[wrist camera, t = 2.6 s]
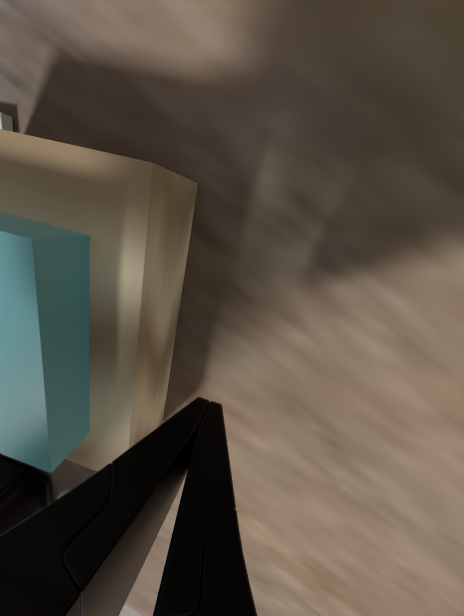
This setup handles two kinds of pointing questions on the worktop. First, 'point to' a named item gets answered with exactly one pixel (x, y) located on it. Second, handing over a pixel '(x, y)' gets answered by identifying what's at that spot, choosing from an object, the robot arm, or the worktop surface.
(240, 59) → the worktop surface
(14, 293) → the teal rectangular block
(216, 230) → the worktop surface
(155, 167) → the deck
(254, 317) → the worktop surface
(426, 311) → the worktop surface
